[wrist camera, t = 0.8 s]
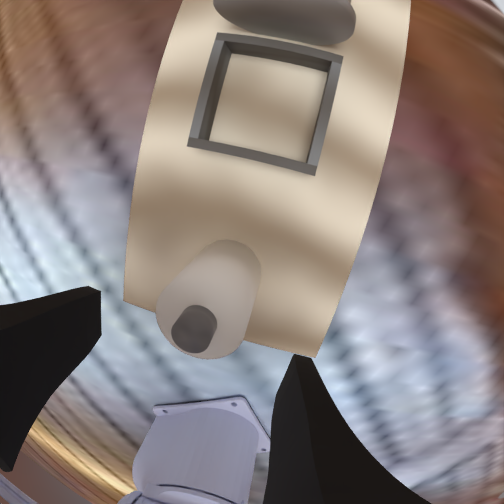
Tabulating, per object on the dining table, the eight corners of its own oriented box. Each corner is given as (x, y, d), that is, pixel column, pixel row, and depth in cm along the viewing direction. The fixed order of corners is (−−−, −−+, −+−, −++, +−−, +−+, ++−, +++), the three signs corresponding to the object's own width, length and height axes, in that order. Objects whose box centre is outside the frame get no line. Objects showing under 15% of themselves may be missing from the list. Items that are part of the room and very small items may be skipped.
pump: (212, 308, 19) (172, 381, 12) (186, 252, 18) (127, 304, 11) (270, 291, 18) (256, 366, 11) (246, 229, 17) (214, 276, 10)
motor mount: (314, 349, 20) (319, 428, 13) (129, 295, 21) (71, 348, 14) (407, -12, 11) (445, -66, 4) (212, -49, 12) (180, -108, 5)
